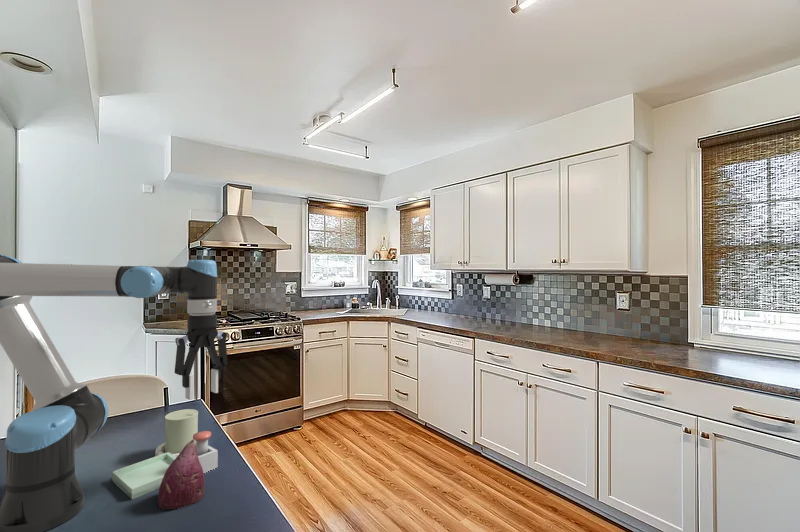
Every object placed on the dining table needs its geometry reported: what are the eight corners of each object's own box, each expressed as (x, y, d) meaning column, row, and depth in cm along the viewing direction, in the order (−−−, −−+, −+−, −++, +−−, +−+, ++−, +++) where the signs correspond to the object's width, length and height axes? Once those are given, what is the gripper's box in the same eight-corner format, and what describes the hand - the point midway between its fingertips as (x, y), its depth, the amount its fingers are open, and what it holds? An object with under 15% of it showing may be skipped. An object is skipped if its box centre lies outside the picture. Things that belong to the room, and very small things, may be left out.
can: (187, 458, 116) (188, 418, 116) (157, 458, 116) (157, 418, 116) (204, 444, 125) (204, 407, 125) (175, 444, 126) (176, 407, 126)
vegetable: (192, 495, 103) (204, 434, 107) (210, 505, 96) (222, 439, 100) (148, 503, 95) (162, 436, 99) (165, 514, 89) (179, 442, 93)
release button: (197, 462, 107) (197, 439, 107) (189, 457, 110) (189, 435, 110) (214, 455, 110) (214, 433, 111) (206, 451, 113) (206, 429, 113)
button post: (196, 477, 106) (196, 458, 106) (185, 470, 109) (186, 452, 109) (217, 468, 111) (217, 450, 111) (207, 461, 114) (207, 444, 114)
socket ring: (167, 466, 111) (167, 460, 111) (148, 453, 120) (148, 447, 120) (214, 449, 122) (214, 443, 122) (193, 437, 130) (193, 432, 130)
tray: (132, 499, 95) (132, 489, 95) (112, 480, 104) (112, 471, 104) (190, 475, 107) (190, 466, 107) (168, 460, 115) (168, 451, 115)
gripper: (171, 318, 100) (171, 407, 100) (241, 311, 116) (241, 389, 116) (159, 316, 105) (159, 401, 105) (228, 310, 120) (227, 384, 120)
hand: (202, 395), depth 110 cm, fingers open, 6 cm apart
